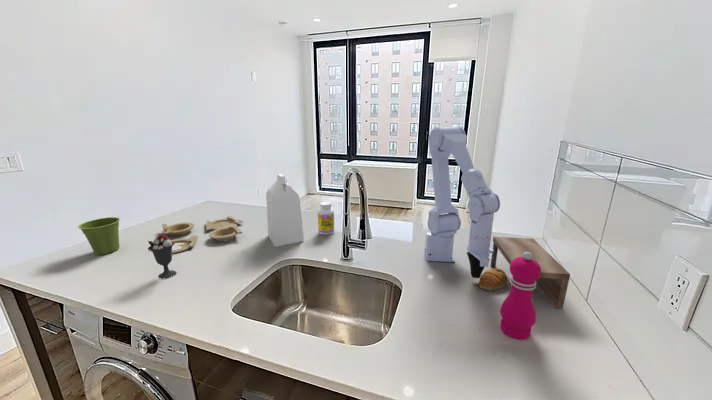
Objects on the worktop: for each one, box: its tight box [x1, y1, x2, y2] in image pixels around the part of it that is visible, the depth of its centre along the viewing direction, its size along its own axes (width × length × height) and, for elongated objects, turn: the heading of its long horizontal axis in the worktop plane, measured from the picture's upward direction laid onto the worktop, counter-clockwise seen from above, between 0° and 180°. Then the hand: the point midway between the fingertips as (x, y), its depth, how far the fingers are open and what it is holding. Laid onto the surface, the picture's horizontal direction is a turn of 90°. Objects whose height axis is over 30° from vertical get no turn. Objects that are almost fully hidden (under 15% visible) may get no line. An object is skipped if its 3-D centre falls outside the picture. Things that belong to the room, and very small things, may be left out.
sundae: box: [147, 229, 177, 280], centre depth 94 cm, size 7×7×15 cm
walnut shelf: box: [490, 236, 571, 310], centre depth 88 cm, size 12×22×10 cm, turn 172°
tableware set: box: [161, 215, 244, 255], centre depth 126 cm, size 35×29×4 cm
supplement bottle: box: [317, 201, 335, 236], centre depth 127 cm, size 7×7×13 cm
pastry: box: [478, 267, 510, 292], centre depth 89 cm, size 9×7×4 cm
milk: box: [265, 173, 305, 247], centre depth 119 cm, size 12×12×26 cm
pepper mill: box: [499, 252, 541, 341], centre depth 68 cm, size 7×7×20 cm
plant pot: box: [77, 216, 121, 256], centre depth 112 cm, size 12×12×11 cm
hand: (475, 276), depth 91 cm, fingers closed
